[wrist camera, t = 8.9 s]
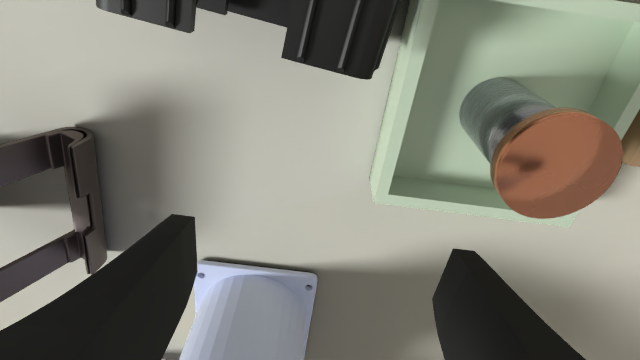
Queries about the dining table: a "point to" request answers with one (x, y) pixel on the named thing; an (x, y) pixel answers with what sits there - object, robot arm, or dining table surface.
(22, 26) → the dining table surface
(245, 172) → the dining table surface
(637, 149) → the pulley block
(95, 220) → the portable electronic device stand
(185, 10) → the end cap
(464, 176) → the tray
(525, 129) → the grey brown cylinder
